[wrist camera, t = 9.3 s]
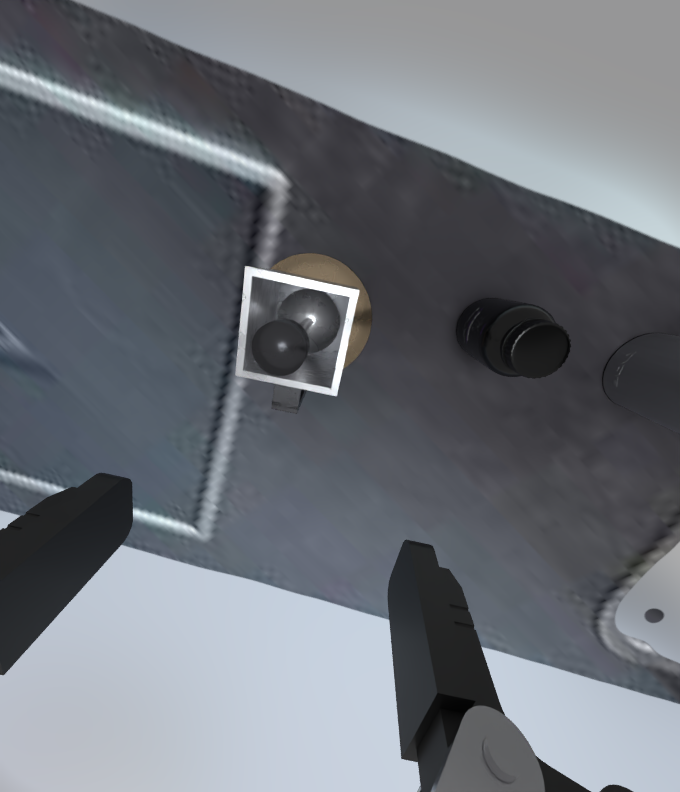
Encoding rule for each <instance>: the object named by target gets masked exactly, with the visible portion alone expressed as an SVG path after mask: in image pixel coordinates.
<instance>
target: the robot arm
mask: <svg viewBox="0 0 680 792" xmlns="http://www.w3.org/2000/svg"><path fill="white" fill-rule="evenodd" d="M603 387H604V390H605V393H606V394H607V396H608V397H609V399H611V400H612V401H613V402H614V403H616V404H618V405H620V406H622V407H624V408H626V409H628V410H631V411H633V412H635V413H637V414H639V415H641V416H643V417H645V418H647V419H649V420H651V421H653V422H655V423H657V424H659V425H662V426H664V427H666V428H668V429H670V430H672V431H674V432H676V433H678V434H680V336H675V335H669V334H664V333H651V334H646V335H642V336H640V337H637V338H635V339H633V340H631V341H629V342H628V343H626V344H625V345H623V346H622V347H621V348H620V349H619V350H618V351H617V352H616V353H615V354H614V355H613V356H612V358H611V359H610V361H609V362H608V364H607V366H606V369H605V371H604V377H603ZM132 522H133V502H132V482H131V480H130V479H128V478H124V477H120V476H115V475H111V474H106V473H98V474H96V475H94V476H93V477H91V478H90V479H89V480H87V481H86V482H85V483H83V484H82V485H81V486H79V487H78V488H76V487H71V488H68V489H66V490H64V491H61V492H59V493H57V494H54V495H52V496H50V497H47V498H46V499H44V500H43V501H41V502H40V503H39V504H37V505H36V506H34V507H33V508H31V509H30V510H29V511H27V512H26V514H25V515H24V516H23V515H21V516H20V517H19V518H17V519H16V520H14V521H13V522H11V523H10V524H8V527H7V528H6V529H4V528H3V529H1V530H0V675H4V674H5V673H6V672H7V671H8V670H9V669H10V668H11V667H12V666H13V664H14V663H15V662H16V661H17V660H18V659H19V658H20V656H21V655H22V654H23V653H24V652H25V651H26V650H27V649H28V648H29V647H30V646H31V644H32V643H33V642H34V641H35V640H36V639H37V638H38V637H39V636H40V634H41V633H42V632H43V631H44V630H45V629H46V628H47V627H48V626H49V624H50V623H51V622H52V621H53V620H54V619H55V618H56V617H57V615H58V614H59V613H60V612H61V611H62V610H63V609H64V608H65V607H66V606H67V604H68V603H69V602H70V601H71V600H72V599H73V598H74V597H75V596H76V594H77V593H78V592H79V591H80V590H81V589H82V588H83V586H84V585H85V584H86V583H87V582H88V581H89V580H90V579H91V578H92V577H93V576H94V574H95V573H96V572H97V571H98V570H99V569H100V568H101V567H102V566H103V564H104V563H105V562H106V561H107V560H108V559H109V558H110V557H111V555H112V554H113V553H114V552H115V551H116V550H117V549H118V548H119V547H120V546H121V544H122V543H123V542H124V541H125V539H126V538H127V536H128V534H129V532H130V529H131V527H132ZM388 609H389V620H390V632H391V643H392V654H393V666H394V678H395V690H396V701H397V712H398V724H399V735H400V746H401V758H402V759H405V760H410V761H415V762H418V766H419V775H420V783H421V786H420V787H419V789H418V791H417V792H591V791H589V790H587V789H586V788H584V787H582V786H581V785H579V784H578V783H576V782H574V781H573V780H571V779H570V778H568V777H566V776H565V775H563V774H561V773H560V772H558V771H557V770H555V769H553V768H551V767H550V766H549V765H547V764H546V763H544V762H543V761H541V760H540V759H539V758H538V757H537V756H536V755H535V753H534V752H533V750H532V748H531V746H530V744H529V743H528V741H527V740H526V738H525V737H524V735H523V734H522V733H521V731H520V730H519V729H518V728H517V727H516V725H514V723H512V721H510V720H509V719H508V718H507V717H506V716H505V714H504V712H503V710H502V707H501V705H500V702H499V699H498V696H497V693H496V690H495V687H494V684H493V681H492V678H491V675H490V672H489V669H488V666H487V663H486V660H485V657H484V654H483V651H482V648H481V645H480V642H479V639H478V636H477V632H476V630H474V623H473V620H472V617H471V614H470V612H468V605H467V602H466V599H465V596H464V593H463V590H462V587H461V586H460V584H459V583H458V582H457V580H456V579H455V577H454V576H453V574H452V573H451V571H450V570H449V569H446V568H441V567H439V565H438V561H437V558H436V554H435V551H434V548H433V546H432V545H429V544H424V543H419V542H415V541H410V540H405V541H404V542H403V545H402V547H401V550H400V552H399V555H398V558H397V560H396V563H395V566H394V568H393V571H392V574H391V577H390V580H389V586H388ZM600 792H633V791H631V790H629V789H627V788H625V787H622V786H619V785H608V786H606V787H605V788H603V789H602V790H601V791H600Z"/></svg>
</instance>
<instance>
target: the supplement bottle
mask: <svg viewBox="0 0 680 792" xmlns="http://www.w3.org/2000/svg"><path fill="white" fill-rule="evenodd" d="M457 338H458V342H459V344H460V346H461V347H462V348H463V349H464V350H465V351H466V352H467V353H468V354H469V355H471V356H472V357H474V358H475V359H476V360H478V361H479V362H481V363H482V364H483V365H485V366H486V367H488V368H489V369H490V370H492V371H493V372H495V373H497V374H499V375H502V376H507V377H519V376H524V377H527V378H541V377H546V376H547V375H550V374H552V373H553V372H555V371H557V369H558V368H560V367H561V366H562V364H563V363H564V362H565V360H566V358H567V357H568V354H569V352H570V347H571V344H570V341H571V340H570V339H569V335H568V334H567V331H566V330H564V329H563V327H562V326H559V325H558V324H557V323H556V322H555V320H554V318H553V317H552V316H551V315H550V313H548V312H547V311H546V310H545V309H543V308H541V307H539V306H536V305H532V304H527V303H521V302H516V301H510V300H504V299H498V298H486V299H482V300H479V301H477V302H475V303H473V304H472V305H471V306H469V307H468V308H467V309H466V310H465V311H464V313H463V314H462V316H461V317H460V319H459V322H458V325H457Z"/></svg>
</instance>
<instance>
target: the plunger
mask: <svg viewBox="0 0 680 792" xmlns="http://www.w3.org/2000/svg"><path fill="white" fill-rule="evenodd" d="M339 326H340V316H339V312H338V309H337V307H336V305H335V303H334V302H333V301H332V299H331V298H330V297H329V296H327V295H326V294H324V293H323V292H321V291H318V290H315V289H301V290H298V291H295V292H293V293H291V294H290V295H289V296H287V297H286V298H285V299H284V301H283V302H282V304H281V306H280V308H279V311H278V315H277V319H275V320H273V321H271V322H269V323H267V324H265V325H263V326H262V327H260V328H259V329H258V330H257V332H256V333H255V335H254V337H253V340H252V354H253V357H254V359H255V361H256V363H257V364H258V365H259V366H260V367H261V368H262V369H263V370H264V371H266V372H267V373H269V374H272V375H276V376H286V375H289V374H292V373H294V372H295V371H297V370H298V369H299V368H300V367H301V365H302V364H303V362H304V360H305V359H306V357H307V355H308V353H314V352H319V351H321V350H323V349H325V348H327V347H328V346H329V345H330V344H331V343H332V342H333V341H334V340H335V338H336V336H337V334H338V331H339Z"/></svg>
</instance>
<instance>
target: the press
mask: <svg viewBox="0 0 680 792" xmlns="http://www.w3.org/2000/svg"><path fill="white" fill-rule="evenodd" d="M301 289H315V290H318V291H321V292H323V293H324V294H326V295H327V296H329V297H330V298H331V299H332V301H333V302H334V303H335V305H336V307H337V309H338V312H339V316H340V326H339V331H338V334H337V336H336V338H335V340H334V341H333V342H332V343H331V344H330V345H329V346H328V347H327V348H325V349H323V350H321V351H319V352H314V353H308V355H307V357H306V359H305V360H304V362H303V364H302V365H301V367H300V368H299V369H298V370H297V371H295V372H294V373H292V374H289V375H286V376H276V375H272V374H269V373H267V372H266V371H264V370H263V369H262V368H261V367H260V366H259V365H258V364H257V363H256V361H255V359H254V357H253V354H252V340H253V337H254V335H255V333H256V332H257V330H258V329H259V328H260V327H262V326H263V325H265V324H267V323H269V322H271V321H273V320H275V319H277V315H278V311H279V308H280V306H281V304H282V302H283V301H284V299H285V298H286V297H287V296H289V295H290V294H291V293H293V292H295V291H298V290H301ZM371 323H372V312H371V305H370V300H369V297H368V295H367V292H366V290H365V288H364V286H363V284H362V282H361V281H360V280H359V278H358V277H357V276H356V275H355V273H354V272H353V271H352V270H351V269H349V268H348V267H347V266H346V265H344V264H343V263H341V262H340V261H338V260H336V259H334V258H331V257H329V256H325V255H321V254H314V253H305V254H298V255H294V256H291V257H288V258H286V259H284V260H282V261H280V262H279V263H277V264H276V265H274V266H273V267H272V268H271V269H265V268H257V267H249V266H245V275H244V286H243V297H242V308H241V319H240V330H239V341H238V353H237V364H236V375H235V376H240V377H245V378H250V379H255V380H260V381H265V382H269V383H274V384H275V387H274V394H273V401H272V409H275V410H280V411H285V412H290V413H295V414H297V412H298V410H299V407H300V405H301V403H302V400H303V398H304V396H305V393H306V391H307V390H308V391H313V392H318V393H323V394H328V395H333V396H337V393H338V388H339V383H340V379H341V374H342V369H344V368H345V367H347V366H348V365H349V364H351V363H352V362H353V361H354V360H355V359H356V358H357V357H358V355H359V354H360V353H361V351H362V350H363V348H364V347H365V344H366V342H367V340H368V337H369V334H370V330H371Z"/></svg>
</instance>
